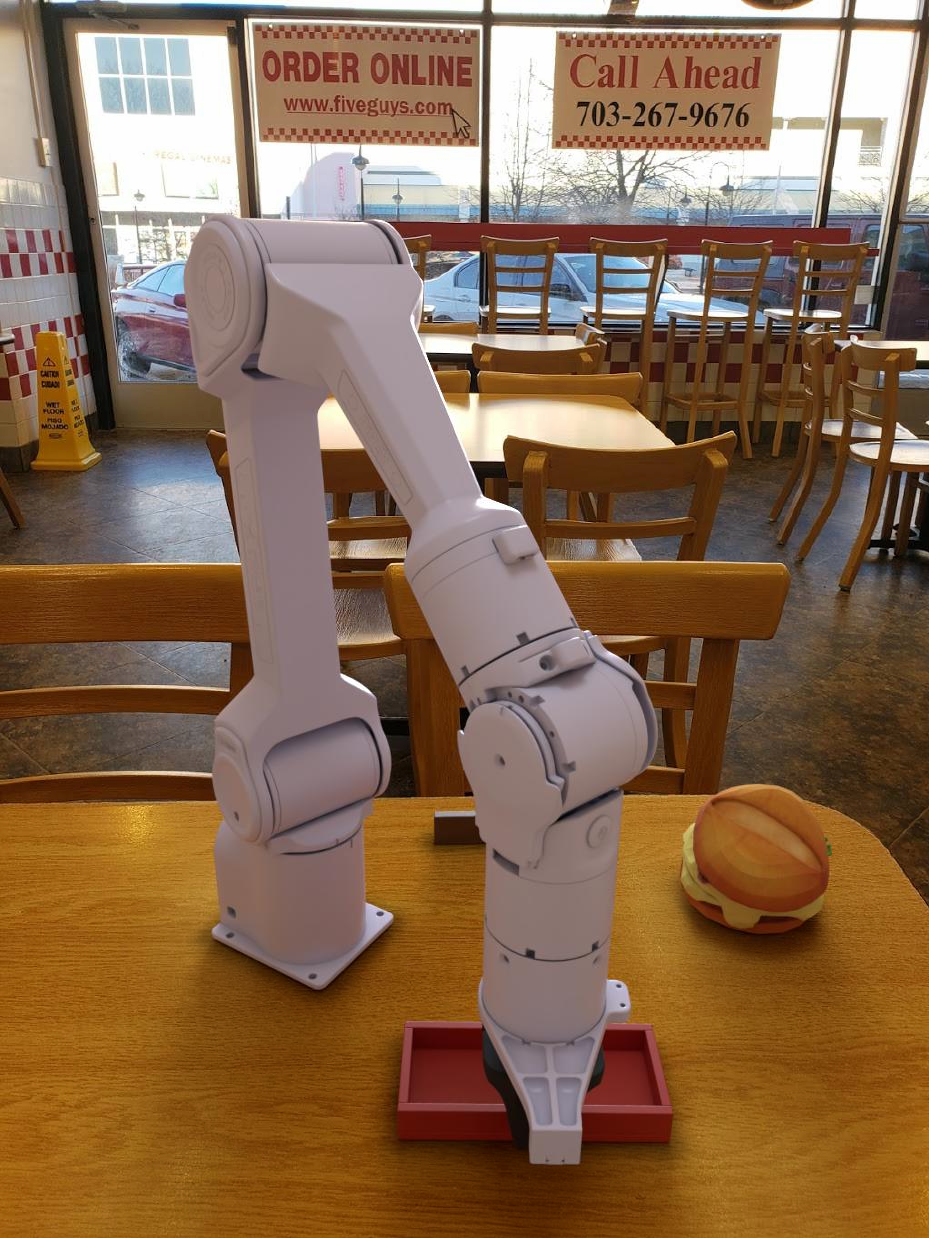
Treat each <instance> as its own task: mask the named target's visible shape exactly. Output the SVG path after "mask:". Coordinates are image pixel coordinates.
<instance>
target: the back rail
mask: <svg viewBox="0 0 929 1238" xmlns="http://www.w3.org/2000/svg"><path fill="white" fill-rule="evenodd" d="M433 844H434V845H469V844H471V845H472V844H473V845H475V844H479V845H480V844H486V843H485V842H484V841H483V840H482V839H481V837H480V834H479V827H478V826H477V825H475V810H457V811H456V810H455V811H450V810H449V811H447V810H446V811H434V812H433Z"/></svg>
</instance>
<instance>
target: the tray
mask: <svg viewBox="0 0 929 1238" xmlns="http://www.w3.org/2000/svg"><path fill="white" fill-rule="evenodd" d="M402 1036H403V1037H402V1050H401V1063H400V1075H399V1086H398V1097H397V1098H398V1101H397V1109H396V1110H397V1113H396V1115H397V1140H416V1141H417V1140H423V1141H424V1140H426V1141H427V1140H429V1141H430V1140H432V1141H433V1140H434V1141H512V1142H513V1139H512V1135H511V1132H510V1127H509V1122H508V1117H507V1112H506V1108H505V1105H504V1102H503V1100H502V1098H501V1096H500V1094H499V1093H498V1091H497V1090H496V1089H495V1088H494V1087H493V1086H492V1085H491V1084H490V1083H489V1082H488V1080H487V1077H486V1074H485V1071H484V1067H483V1047H482V1021H427V1020H426V1021H422V1020H421V1021H414V1020H413V1021H412V1020H411V1021H410V1020H408V1021H407V1020H405V1021H404V1025H403V1035H402ZM602 1048H603V1054H604V1060H605V1070H604V1074H603V1078H602V1081H601V1083H600V1084H599V1085H598V1086H596V1087H595V1088H593V1089H592V1090H591V1091H589V1092H588V1093H587V1094H586V1096H585V1099H584V1103H583V1107H582V1112H581V1119H582V1139H581V1142H606V1143H610V1142H611V1143H613V1142H617V1143H626V1142H627V1143H670V1142H671V1136H672V1128H673V1120H674V1110H673V1106H672V1101H671V1097H670V1094H669V1089H668V1086H667V1081H666V1077H665V1073H664V1069H663V1064H662V1060H661V1055H660V1053H659V1047H658V1043H657V1040H656V1035H655V1032H654V1028H653V1023H652V1024H651V1023H610V1024H609V1025H608V1026H607V1027H606V1029H605V1032H604V1036H603V1039H602Z"/></svg>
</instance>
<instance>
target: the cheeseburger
mask: <svg viewBox="0 0 929 1238" xmlns="http://www.w3.org/2000/svg"><path fill="white" fill-rule="evenodd" d="M682 838H683V840H682V841H681V842H682V844H683V845H682V851H681V855H682V858H681V865H680V870H679V871H680V872H679V880H680V885H681V888H682V890H683V892H684V894H685V897H686V899H687V902H688V903H689V904H690V905H691V906H692V907H693V908H694V909H696V910H697V911H698V912H699V913H701V914H702V915H703V916H704V917H705V918H707V919H709V920H712V921H713V922H716V923H718V924H720V925H723V926H724V927H726V928H729V929H731V930H737V931H742V932H747V933H751V934H755V935H759V934H760V935H761V934H762V935H763V934H783V933H786V932H788V931H790V930H792V929H795V928H798V927H800V926H802V925H803V924H804V922H805V921H807V920H808V919H810V918H813V917H814V916H815V915H817V914H818V913H819V912H820V911H821V910H822V907H823V904H824V900H825V895H824V894H825V893H826V891H827V889H828V884H829V880H830V879H829V878H830V871H831V870H830V859H829V857H831V856H832V855H833V853H832V845H831V843H827V842H828V841H829V839H828V837H825V835H824V831H823V829H822V827H821V824H820V822H819V820H818V819H817V817H816V816H815V814H814V812H812V810H811V809H810V807H809V806H808V804H807V803H806V801H805V800H804V799H803V798H801V797H800V796H799V795H798V794H796V793H795V792H794V791H793V790H790V789H787V788H785V787H782V786H781V785H780V786H779V785H777V784H776V785H773V784H765V783H764V784H763V783H753V784H751V783H750V784H742V785H737V786H731V787H729V788H726V789H723V790H721V791H719V792H718V793H716V794H715V795H713V796H712V797H711V798H710V799H709V800H707V801H706V802H705V803H704V804H703V805H701V807H700V808H699V810H698V813H697V816H696V820H695V821H694V822H693V823H692V824H690V825H689V826H688V828H687V829H686V830H685V831H684V833H683V834H682Z"/></svg>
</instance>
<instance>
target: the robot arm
mask: <svg viewBox="0 0 929 1238" xmlns="http://www.w3.org/2000/svg"><path fill="white" fill-rule="evenodd" d="M182 279H183V280H182V281H183V291H184V300H185V306H186V307H185V308H186V315H187V324H188V330H189V339H190V346H191V355H192V362H193V365H194V367H195V374H196V381H197V386H198V389H199V390H200V391H202V392H204V393H207V394H209V395H211V396H213V397H216V398H219V399H221V407H222V417H223V424H224V431H225V432H224V433H225V442H226V448H227V449H226V450H227V456H228V465H229V473H230V483H231V484H230V485H231V491H232V499H233V509H234V516H235V524H236V525H235V526H236V532H237V542H238V549H239V556H240V557H239V559H240V566H241V568H240V569H241V574H242V583H243V591H244V600H245V609H246V617H247V626H248V631H249V632H248V635H249V643H250V650H251V651H250V652H251V661H252V668H253V674H254V675H253V676H252V678H251V679H250V680H249V682H248V683H247V684H246V685H245V686H244V687H243V688H242V689H241V690H240V692H239V693H238V694H237V695H235V697H234V698H233V699H232V700H231V701H230V702H228V704H227V705H225V707H224V708H223V709H222V710H221V711H220V712H219V714H218V715H217V716H216V717H215V719H214V721H213V723H214V746H215V747H214V758H213V762H212V768H211V780H212V786H213V787H212V788H213V791H214V792H213V793H214V796H215V799H216V803H217V805H218V808H219V811H220V813H221V816H222V817H223V818H222V820H221V822H220V825H219V826H218V829H217V832H216V835H215V840H214V844H213V845H214V846H213V860H214V871H215V878H216V879H215V880H216V890H217V891H216V892H217V899H218V900H217V901H218V910H219V920H220V922H219V923H218V924H217V925H215V926H214V927H213V928H212V929H211V937H212V938H213V939H214V940H216V941H218V942H220V943H222V944H225V945H226V946H228V947H230V948H232V949H234V950H237V951H238V952H240V953H243V954H244V955H245V956H248V957H250V958H252V959H254V960H255V961H257V962H260V963H262V964H264V965H266V966H267V967H270V968H272V969H274V970H275V971H278V972H279V973H281V974H283V975H286V976H287V977H290V978H292V979H293V980H296V981H298V982H300V983H302V984H303V985H306V986H307V987H309V988H312V989H313V990H317V991H320V990H323V989H325V988H326V987H327V986H328V985H329V984H331V982H332V981H334V980H335V979H336V978H337V977H338V976H339V975H340V974H341V973H342V972H343V971H344V970H345V969H347V967H348V966H349V965H350V964H352V962H354V960H356V959H357V957H359V956H360V955H361V954H362V953H363V952H364V951H366V949H367V948H368V947H370V945H371V944H372V943H373V942H374V941H375V940H376V939H377V938H379V937H380V935H382V934H383V933H384V932H385V931H386V930H387V929H388V928H389V927H390V926H391V925H392V924H393V923H394V915H393V913H392V912H389V911H387V910H384V909H383V908H380V907H378V906H375V905H373V904H370V903H368V902H367V901H366V900H367V899H366V898H367V896H366V895H367V894H366V865H365V837H364V836H365V833H364V821H365V820H366V819H367V818H368V817H370V816H372V815H374V798H376V797H379V796H381V795H383V793H384V792H385V791H386V790H387V788H388V785H389V783H390V780H391V779H390V778H391V772H392V755H391V749H390V746H389V742H388V739H387V737H386V734H385V732H384V730H383V727H382V723H381V718H380V714H379V709H378V699H377V697H376V696H375V694H373V692H371V690H369V689H368V688H367V687H366V686H364V685H363V684H362V683H360V682H359V681H357V680H356V679H354V678H352V677H349V676H347V675H345V674H343V673H341V664H340V652H339V642H338V641H339V640H338V629H337V618H336V617H337V616H336V608H335V607H336V606H335V596H334V584H333V574H332V562H331V553H330V551H331V550H330V541H329V527H328V518H327V507H326V495H325V485H324V474H323V473H324V471H323V464H322V463H323V461H322V451H321V450H322V449H321V439H320V429H319V419H318V415H319V411H320V409H321V407H322V406H323V404H324V403H325V402H326V400H327V399H328V398H329V396H330V395H331V394H332V396H333V397H334V399H335V401H336V403H337V404H338V405H339V407H340V409H341V411H342V413H343V414H344V416H345V418H346V419H347V421H348V423H349V424H350V427H351V428H352V430H353V431H354V433H355V435H356V437H357V438H358V440H359V442H360V443H361V445H362V448H363V449H364V450H365V452H366V453H367V455H368V457H369V459H370V461H371V463H372V464H373V466H374V467H375V469H376V471H377V472H378V474H379V476H380V478H381V479H382V481H383V483H384V484H385V486H386V488H387V490H388V491H389V493H390V494H391V497H392V498H393V500H394V501H395V503H396V505H397V507H398V509H399V510H400V512H401V514H402V515H403V517H404V519H405V520H406V522H407V524H408V526H409V527H410V529H411V536H410V540H409V544H408V547H407V551H406V552H405V553H406V554H405V557H404V560H403V566H402V567H403V568H402V569H403V574H404V576H405V578H406V580H407V583H408V585H409V586H410V589H411V591H412V593H413V596H414V597H415V600H416V601H417V604H418V606H419V608H420V611H421V612H422V614H423V617H424V618H425V621H426V623H427V625H428V627H429V629H430V632H431V634H432V636H433V639H434V640H435V642H436V644H437V647H438V648H439V651H440V653H441V655H442V658H443V660H444V661H445V663H446V666H447V668H448V669H449V672H450V674H451V676H452V678H453V680H454V683H455V684H456V687H457V688H458V691H459V693H460V696H461V697H462V700H463V702H464V704H465V706H466V708H467V710H468V712H469V716H468V718H467V720H466V723H465V727H464V728H463V730H462V729H458V730H457V733H456V735H457V746H458V753H459V757H460V762H461V765H462V768H463V771H464V774H465V776H466V778H467V781H468V783H469V785H470V788H471V791H472V794H473V798H474V806H475V807H474V808H475V809H474V811H475V825H477V826H478V827H479V834H480V837H481V839H482V840H483V841H484V842H485V843H484V844H485V880H484V881H485V882H484V884H485V885H484V913H483V914H484V915H483V952H482V953H483V955H482V976H481V979H480V982H479V984H478V992H477V1010H478V1015H479V1018H480V1022H482V1047H483V1067H484V1071H485V1074H486V1077H487V1080H488V1082H489V1083H490V1084H491V1085H492V1086H493V1087H494V1088H495V1089H496V1090H497V1091H498V1093H499V1094H500V1096H501V1098H502V1100H503V1102H504V1105H505V1108H506V1112H507V1117H508V1122H509V1127H510V1132H511V1135H512V1139H513V1141H512V1142H513V1144H514V1147H515V1149H516V1150H517V1151H528V1154H529V1163H530V1164H532V1165H549V1166H550V1165H553V1166H554V1165H557V1166H558V1165H559V1166H562V1165H563V1166H564V1165H580V1163H581V1152H582V1141H581V1139H582V1119H581V1112H582V1107H583V1103H584V1099H585V1096H586V1094H587V1093H588V1092H589V1091H591V1090H592V1089H593V1088H595V1087H596V1086H598V1085H599V1084H600V1083H601V1081H602V1078H603V1074H604V1070H605V1060H604V1054H603V1048H602V1039H603V1036H604V1032H605V1029H606V1027H607V1026H608V1025H609V1024H623V1023H627V1022H628V1021H629V1020H630V1018H631V1011H632V1002H631V998H630V993H629V988H628V986H627V984H626V983H625V982H623V981H621V980H617V979H608V977H609V976H608V975H609V964H610V963H609V962H610V952H611V941H612V940H611V938H612V928H613V920H614V919H613V918H614V908H615V898H616V897H615V896H616V886H617V885H616V883H617V875H618V874H617V873H618V862H619V861H618V860H619V848H620V839H621V838H620V837H621V826H622V816H623V815H622V814H623V804H624V803H623V802H624V789H622V788H620V787H621V786H622V785H625V784H627V783H629V782H630V781H632V780H633V779H634V778H636V777H638V775H640V774H642V773H643V772H645V770H646V769H647V768H649V766H650V765H651V763H652V761H653V760H654V757H655V755H656V751H657V748H658V741H659V728H658V720H657V715H656V712H655V707H654V706H653V702H652V700H651V698H650V696H649V693H648V690H647V685H646V683H645V681H644V678H642V677H641V675H640V674H639V673H638V671H636V669H634V667H632V666H631V664H629V663H628V662H627V661H626V660H624V659H623V658H621V657H620V656H618V655H616V654H614V653H612V652H611V651H609V650H607V649H606V647H604V646H603V644H602V643H601V641H600V639H599V637H598V635H596V634H595V635H593V634H592V632H591V631H590V630H585V631H583V630H581V628H580V626H579V623H578V622H577V620H576V617H575V616H574V614H573V612H572V610H571V608H570V607H569V605H568V602H567V601H566V599H565V597H564V595H563V593H562V591H561V589H560V587H559V585H558V583H557V581H556V579H555V577H554V575H553V573H552V571H551V569H550V568H549V566H548V563H547V561H546V559H545V557H544V556H543V553H542V551H541V550H540V549H541V548H540V547H539V544H538V543H537V541H536V539H535V537H534V534H533V533H532V531H531V528H530V527H529V526H528V524H527V522H526V520H525V518H524V517H523V515H522V514H521V513H522V512H520V511H519V510H517V509H515V508H513V507H511V506H508V505H506V504H503V503H500V502H497V501H495V500H492V499H490V498H487V497H485V496H484V494H483V492H482V490H481V487H480V485H479V482H478V480H477V477H476V474H475V472H474V470H473V467H472V465H471V463H470V460H469V457H468V454H467V453H466V450H465V447H464V445H463V443H462V441H461V440H462V439H461V438H460V435H459V433H458V430H457V428H456V426H455V423H454V421H453V418H452V416H451V413H450V411H449V408H448V406H447V403H446V401H445V399H444V396H443V393H442V391H441V388H440V386H439V384H438V382H437V379H436V376H435V374H434V371H433V369H432V366H431V363H430V362H429V360H428V357H427V354H426V351H425V348H424V347H423V344H422V342H421V339H420V337H419V334H418V332H419V328H420V324H421V320H422V313H423V305H424V281H423V280H422V279H421V277H420V275H419V274H418V272H417V271H416V270H415V268H414V267H413V262H412V258H411V256H410V252H409V250H408V248H407V246H406V243H405V241H404V239H403V238H402V236H401V234H400V233H399V232H398V231H397V230H396V229H395V227H394V226H392V225H391V224H390V223H388V222H386V221H384V220H381V219H363V220H362V221H360V222H358V221H335V220H334V221H333V220H304V219H283V218H282V219H281V218H280V219H279V218H255V217H254V218H252V217H251V218H250V217H237V216H236V215H234V214H230V213H229V214H228V213H215V214H212V215H209V216H208V217H207V218H206V219H205V220H204V221H203V222H202V224H201V226H200V228H199V230H198V232H197V233H196V235H195V237H194V239H193V240H192V243H191V248H190V251H189V253H188V257H187V260H186V262H185V265H184V269H183V278H182Z"/></svg>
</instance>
